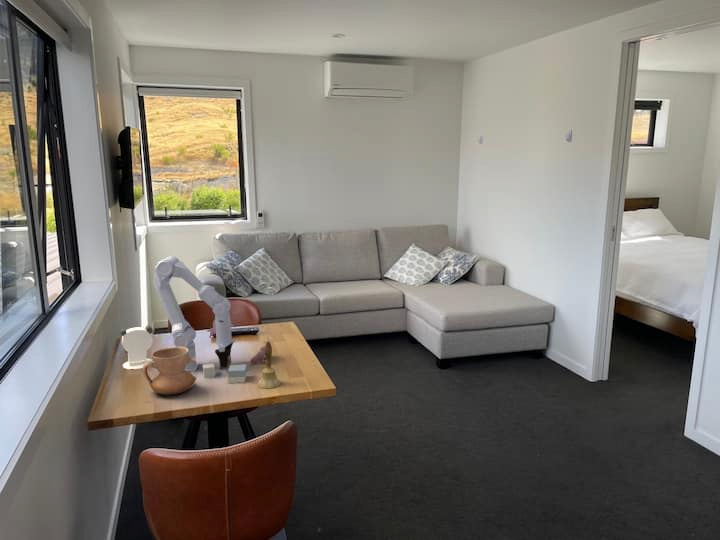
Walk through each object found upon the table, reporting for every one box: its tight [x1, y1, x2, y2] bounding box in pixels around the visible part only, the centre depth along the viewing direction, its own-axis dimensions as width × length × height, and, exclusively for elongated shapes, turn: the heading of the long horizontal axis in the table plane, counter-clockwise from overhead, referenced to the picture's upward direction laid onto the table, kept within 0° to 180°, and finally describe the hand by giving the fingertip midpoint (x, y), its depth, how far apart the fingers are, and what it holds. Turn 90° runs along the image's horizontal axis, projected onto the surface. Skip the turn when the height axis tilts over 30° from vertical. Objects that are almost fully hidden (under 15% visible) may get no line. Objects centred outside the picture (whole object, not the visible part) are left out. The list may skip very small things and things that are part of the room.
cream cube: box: [202, 363, 216, 379], centre depth 203 cm, size 4×4×4 cm
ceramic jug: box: [142, 346, 197, 396], centre depth 189 cm, size 18×14×14 cm
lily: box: [206, 319, 234, 338], centre depth 246 cm, size 12×12×10 cm
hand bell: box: [257, 341, 282, 389], centre depth 193 cm, size 8×8×16 cm
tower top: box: [227, 363, 248, 379], centre depth 199 cm, size 6×6×2 cm
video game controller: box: [250, 345, 266, 365], centre depth 218 cm, size 10×5×7 cm, turn 169°
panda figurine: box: [120, 325, 154, 370], centre depth 214 cm, size 12×11×15 cm
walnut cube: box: [218, 355, 232, 370], centre depth 211 cm, size 4×4×4 cm
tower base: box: [227, 374, 247, 384], centre depth 199 cm, size 6×6×2 cm
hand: (225, 363), depth 211 cm, fingers open, 7 cm apart
